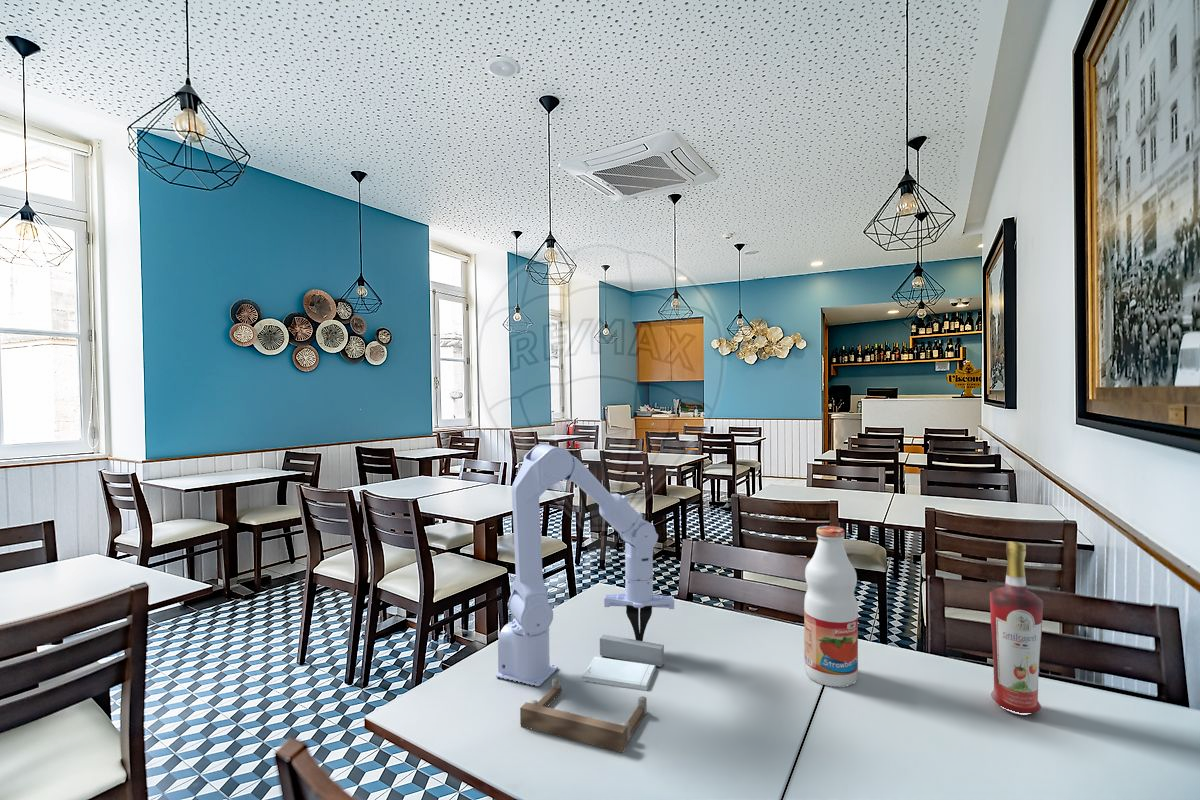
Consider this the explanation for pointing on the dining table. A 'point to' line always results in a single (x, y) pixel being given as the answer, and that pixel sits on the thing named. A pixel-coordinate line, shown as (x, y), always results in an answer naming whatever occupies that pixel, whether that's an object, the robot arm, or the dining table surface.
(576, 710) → the dining table surface
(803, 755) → the dining table surface
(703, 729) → the dining table surface
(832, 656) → the fruit juice
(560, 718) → the dock
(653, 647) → the grey rectangular beam
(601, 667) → the hard drive
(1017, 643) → the liquor
